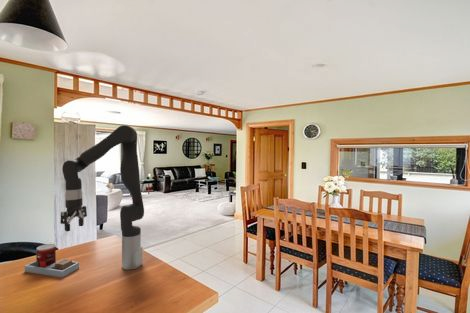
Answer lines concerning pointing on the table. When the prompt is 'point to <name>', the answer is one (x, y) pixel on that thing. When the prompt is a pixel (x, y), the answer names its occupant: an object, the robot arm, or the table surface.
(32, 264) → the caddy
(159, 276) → the table surface
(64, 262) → the walnut cube
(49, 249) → the canned food
